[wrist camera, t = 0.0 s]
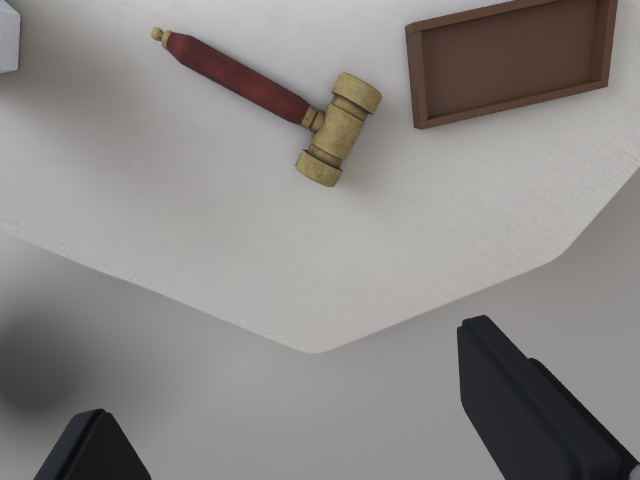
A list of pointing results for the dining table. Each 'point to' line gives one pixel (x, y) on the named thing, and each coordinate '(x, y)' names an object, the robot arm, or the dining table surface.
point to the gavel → (287, 103)
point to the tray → (507, 57)
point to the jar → (9, 37)
